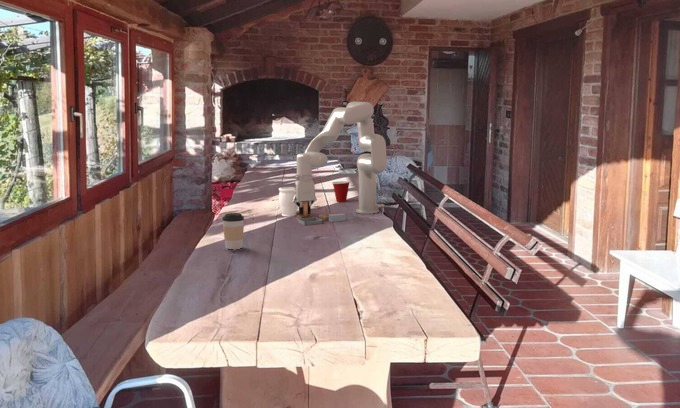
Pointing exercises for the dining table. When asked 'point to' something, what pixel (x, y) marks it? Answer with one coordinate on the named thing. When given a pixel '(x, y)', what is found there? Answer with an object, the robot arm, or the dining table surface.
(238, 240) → the coffee cup
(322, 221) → the tray
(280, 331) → the dining table surface
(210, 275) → the dining table surface
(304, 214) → the dowel
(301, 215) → the holder
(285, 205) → the jar
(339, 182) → the plastic cup
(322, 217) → the tan wooden block
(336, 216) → the gray rectangular block
